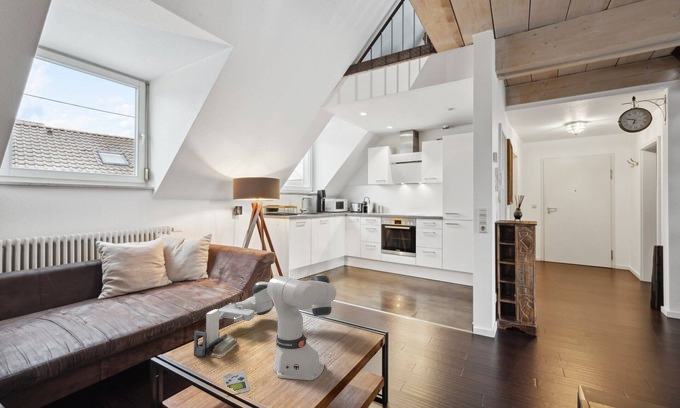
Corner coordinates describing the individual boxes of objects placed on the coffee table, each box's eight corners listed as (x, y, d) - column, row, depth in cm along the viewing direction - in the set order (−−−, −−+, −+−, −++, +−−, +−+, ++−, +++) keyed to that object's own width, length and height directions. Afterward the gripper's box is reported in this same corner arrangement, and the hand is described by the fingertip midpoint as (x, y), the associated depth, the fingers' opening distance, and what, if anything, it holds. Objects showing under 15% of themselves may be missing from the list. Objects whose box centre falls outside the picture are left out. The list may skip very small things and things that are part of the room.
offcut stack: (237, 345, 152) (238, 336, 152) (220, 359, 139) (220, 349, 139) (229, 343, 154) (229, 335, 154) (210, 357, 140) (210, 347, 140)
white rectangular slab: (218, 345, 151) (219, 309, 151) (210, 351, 145) (210, 314, 145) (214, 344, 152) (214, 309, 151) (205, 350, 146) (206, 313, 146)
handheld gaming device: (244, 369, 130) (249, 390, 116) (244, 371, 130) (249, 391, 116) (222, 374, 126) (225, 395, 113) (222, 376, 126) (225, 397, 113)
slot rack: (227, 341, 155) (227, 320, 155) (204, 357, 139) (205, 333, 139) (217, 339, 157) (217, 318, 156) (193, 355, 141) (194, 331, 141)
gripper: (258, 317, 170) (244, 327, 156) (228, 312, 175) (211, 322, 162) (259, 306, 169) (244, 315, 156) (228, 302, 175) (211, 310, 162)
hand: (227, 319), depth 159 cm, fingers open, 8 cm apart
